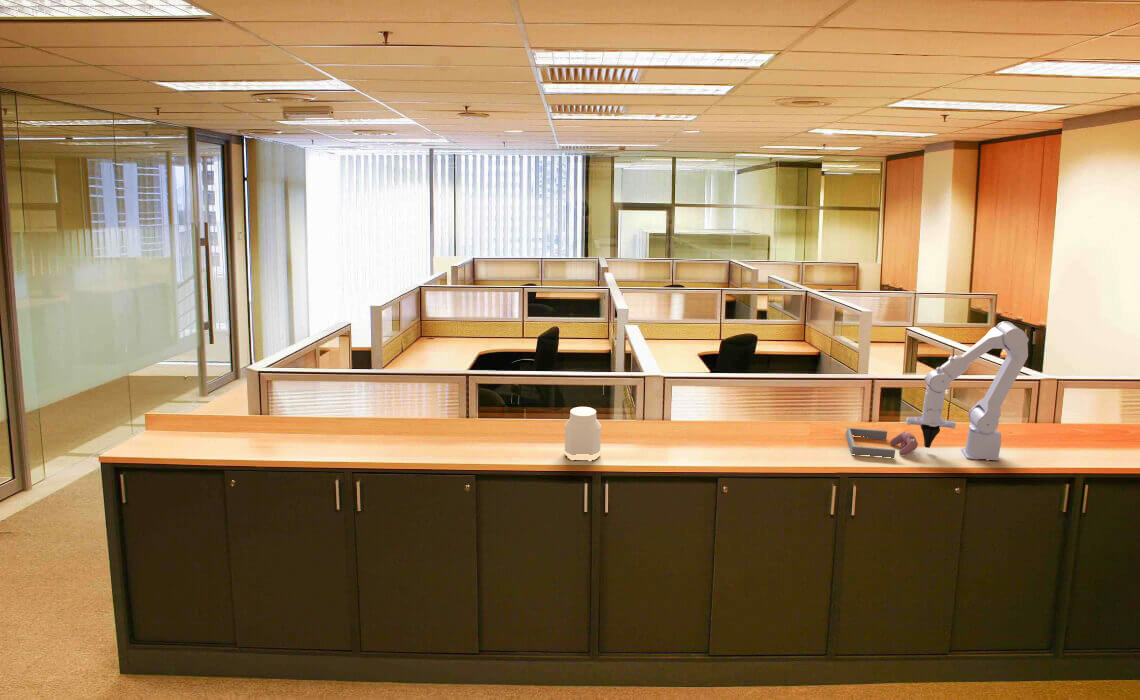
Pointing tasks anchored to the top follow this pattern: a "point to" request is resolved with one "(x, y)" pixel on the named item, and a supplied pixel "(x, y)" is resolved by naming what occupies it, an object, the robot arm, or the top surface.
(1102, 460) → the top surface
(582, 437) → the jar
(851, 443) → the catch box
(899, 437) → the video game controller
